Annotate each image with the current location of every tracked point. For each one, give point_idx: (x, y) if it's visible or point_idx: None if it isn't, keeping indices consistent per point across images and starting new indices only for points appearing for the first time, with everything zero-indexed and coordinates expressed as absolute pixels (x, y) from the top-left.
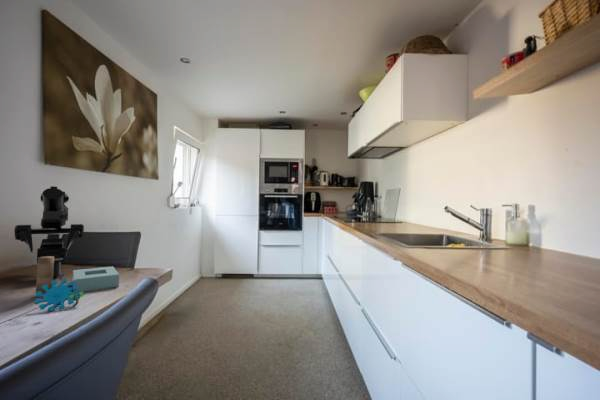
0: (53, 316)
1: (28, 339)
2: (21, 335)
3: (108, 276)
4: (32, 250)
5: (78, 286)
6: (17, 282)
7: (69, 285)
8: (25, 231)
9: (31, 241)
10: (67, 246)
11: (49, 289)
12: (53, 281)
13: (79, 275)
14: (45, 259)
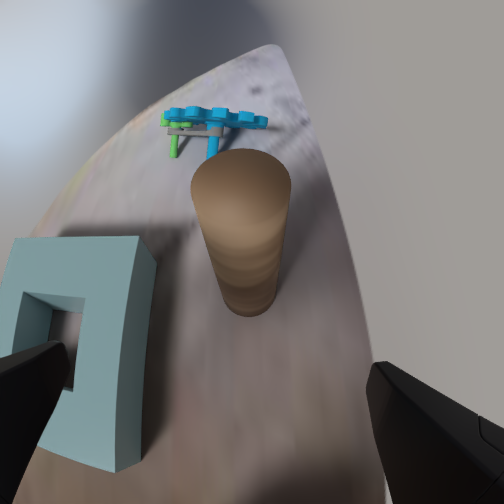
0: (231, 104)
1: (263, 59)
2: (273, 69)
3: (41, 238)
4: (372, 391)
5: (165, 111)
6: None
7: (183, 116)
8: None
9: (451, 428)
10: (38, 349)
11: (234, 113)
12: (222, 108)
13: (104, 309)
14: (244, 155)
